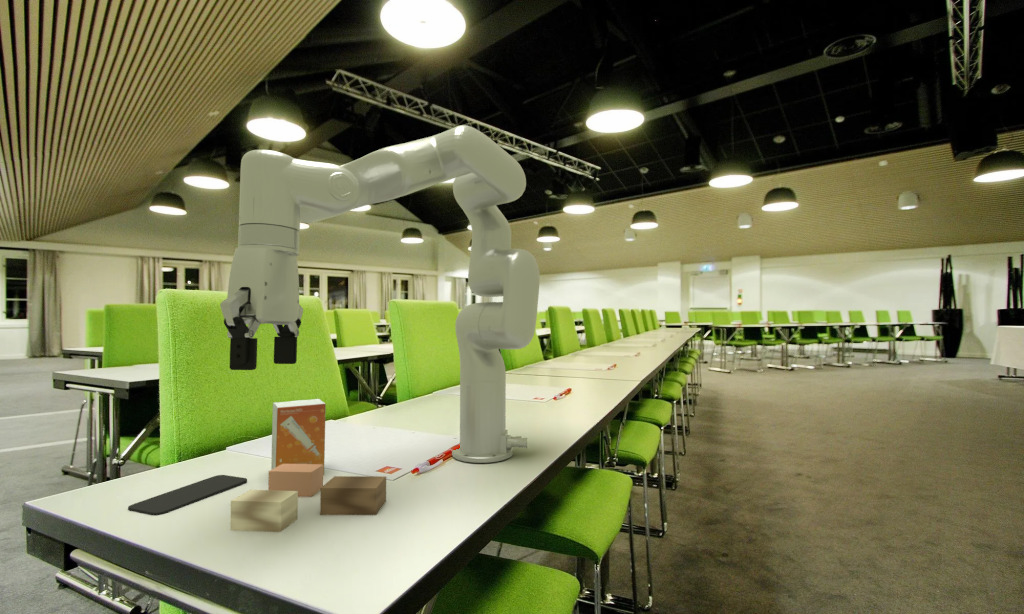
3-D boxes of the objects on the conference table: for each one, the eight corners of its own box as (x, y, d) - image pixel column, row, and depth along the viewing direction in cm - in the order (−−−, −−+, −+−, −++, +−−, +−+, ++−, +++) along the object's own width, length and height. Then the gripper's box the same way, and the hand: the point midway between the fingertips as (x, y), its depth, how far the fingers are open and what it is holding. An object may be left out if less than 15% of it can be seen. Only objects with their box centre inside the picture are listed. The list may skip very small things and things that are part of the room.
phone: (123, 507, 67) (219, 474, 81) (123, 512, 67) (219, 478, 81) (158, 513, 65) (250, 478, 79) (158, 519, 65) (250, 483, 79)
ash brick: (297, 520, 64) (297, 491, 64) (280, 533, 60) (280, 502, 60) (250, 518, 64) (250, 489, 64) (230, 531, 60) (230, 500, 60)
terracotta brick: (323, 488, 76) (323, 464, 76) (310, 497, 72) (311, 472, 72) (282, 487, 76) (283, 463, 76) (268, 496, 72) (268, 471, 72)
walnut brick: (386, 502, 70) (386, 476, 70) (375, 516, 65) (376, 488, 65) (334, 502, 70) (334, 476, 70) (320, 516, 65) (320, 488, 65)
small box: (274, 484, 77) (276, 407, 78) (270, 474, 83) (272, 401, 83) (325, 475, 82) (326, 402, 82) (318, 466, 87) (319, 397, 88)
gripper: (278, 253, 72) (274, 361, 71) (197, 229, 55) (192, 372, 54) (324, 253, 72) (321, 362, 71) (258, 229, 55) (253, 373, 54)
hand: (265, 366), depth 63 cm, fingers open, 9 cm apart
